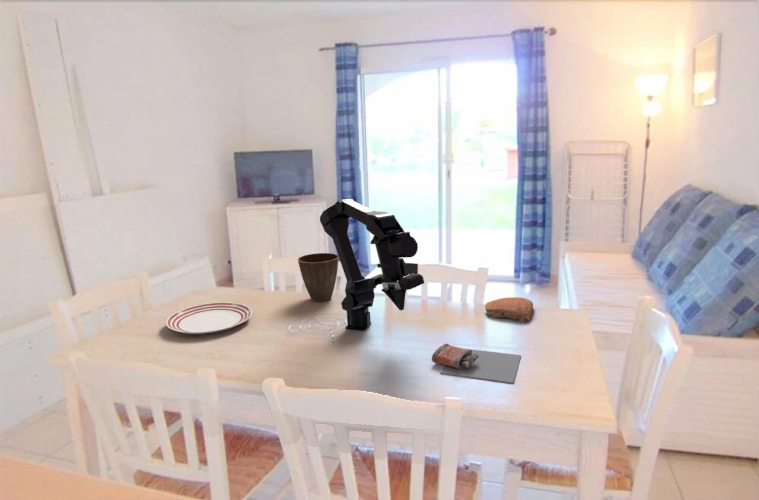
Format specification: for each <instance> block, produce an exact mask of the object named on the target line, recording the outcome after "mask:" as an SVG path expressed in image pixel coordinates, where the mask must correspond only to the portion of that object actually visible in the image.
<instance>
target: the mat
mask: <svg viewBox="0 0 759 500" xmlns="http://www.w3.org/2000/svg"><path fill="white" fill-rule="evenodd" d="M462 348H463V347H462ZM463 349H465V348H463ZM470 350H472V355H473V354H474V353H475V354H478V355H479V358H478V359H477V360H476V361H474V362H473V363H474V365H472V366H469V367H464V366H463V367H462V368H460V369H456V368H455V367H451V366H448V365H444V364H443V366H442V369H441V370H440V372H439V374H440V375H446V376H447V375H449V376H454V377H463V378H470V379H476V380H484V381H491V382H498V383H505V384H513V385H514V383H515V378H516V376H517V372H518V367H519V364H520V361H521V358H522V355H521V354H514V353H505V352H496V351H490V350H489V351H487V350H481V349H480V350H479V349H471V348H470Z"/></svg>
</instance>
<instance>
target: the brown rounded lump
mask: <svg viewBox="0 0 759 500" xmlns="http://www.w3.org/2000/svg"><path fill="white" fill-rule="evenodd" d="M533 308H534V303H533V301H532V300H530V299H528V298H524V297H503V298H498V299H493V300H491V301H488V302H486V303H485V305H484V310H485V312H486V313H487V314H488V315H489V316H491V318H493V319H511V320H514V321H520V322H524V323H528V322H529V320H530V318H531V315H532V312H533Z"/></svg>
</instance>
